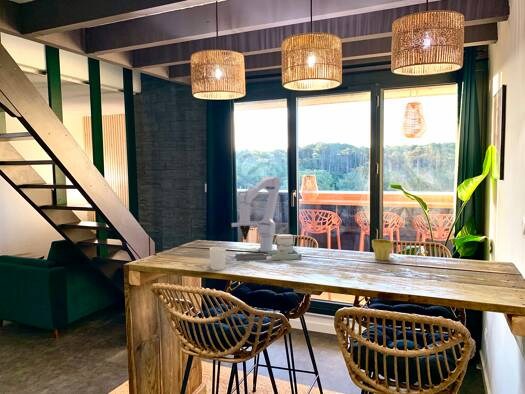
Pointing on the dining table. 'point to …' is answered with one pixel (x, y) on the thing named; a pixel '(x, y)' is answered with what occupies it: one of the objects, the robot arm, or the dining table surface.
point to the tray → (284, 255)
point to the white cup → (217, 258)
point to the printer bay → (248, 257)
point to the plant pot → (382, 248)
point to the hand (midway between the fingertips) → (245, 239)
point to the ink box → (284, 244)
